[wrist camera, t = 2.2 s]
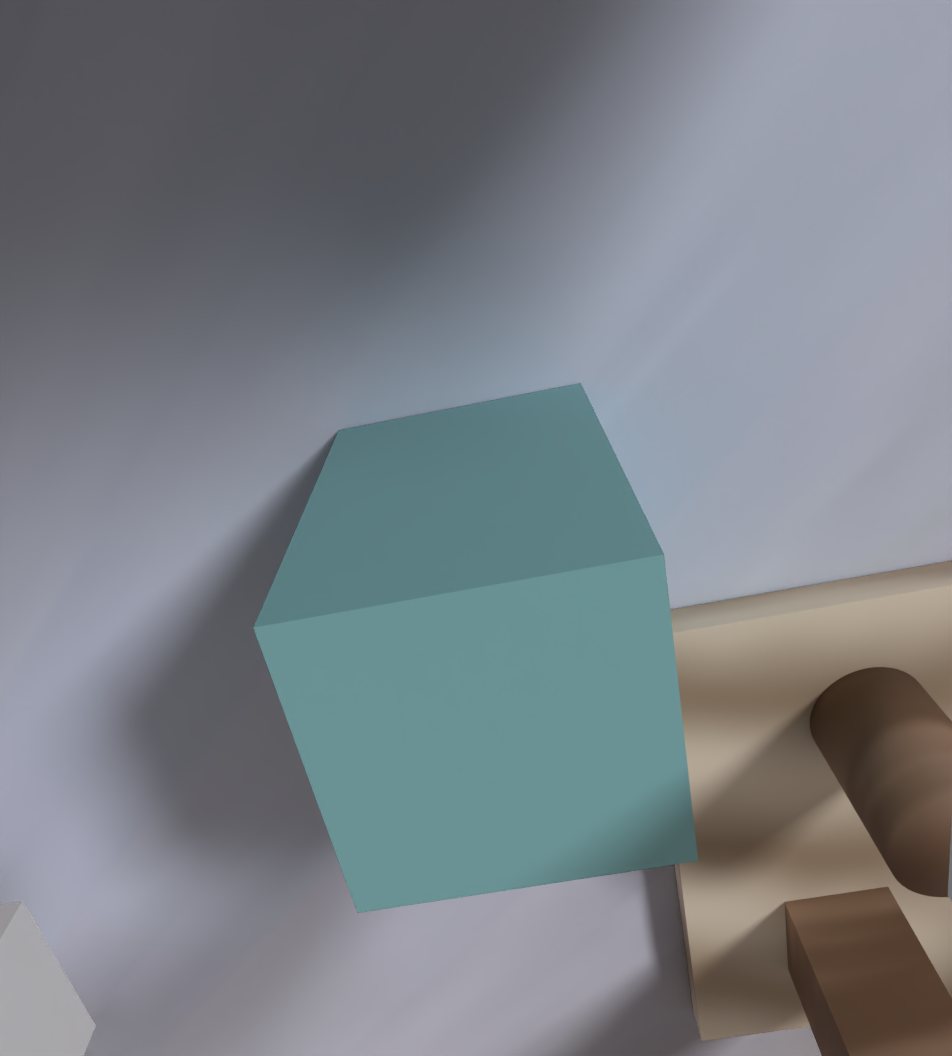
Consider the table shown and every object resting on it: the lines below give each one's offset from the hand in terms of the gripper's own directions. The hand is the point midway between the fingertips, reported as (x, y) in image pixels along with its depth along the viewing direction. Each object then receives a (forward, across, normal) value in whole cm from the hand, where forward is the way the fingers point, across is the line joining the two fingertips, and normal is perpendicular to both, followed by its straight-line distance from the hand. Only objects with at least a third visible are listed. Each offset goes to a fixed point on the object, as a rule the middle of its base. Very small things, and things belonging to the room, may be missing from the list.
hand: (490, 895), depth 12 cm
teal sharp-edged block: (+12, 0, 0) cm, 12 cm away
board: (+12, +10, -12) cm, 20 cm away
